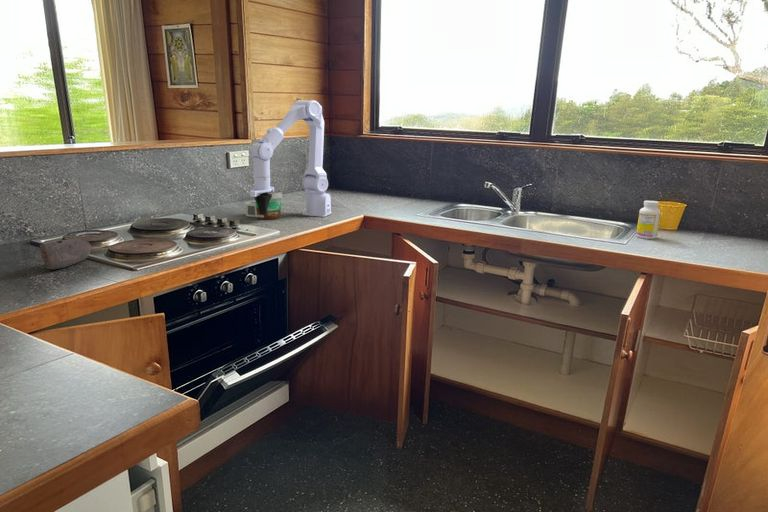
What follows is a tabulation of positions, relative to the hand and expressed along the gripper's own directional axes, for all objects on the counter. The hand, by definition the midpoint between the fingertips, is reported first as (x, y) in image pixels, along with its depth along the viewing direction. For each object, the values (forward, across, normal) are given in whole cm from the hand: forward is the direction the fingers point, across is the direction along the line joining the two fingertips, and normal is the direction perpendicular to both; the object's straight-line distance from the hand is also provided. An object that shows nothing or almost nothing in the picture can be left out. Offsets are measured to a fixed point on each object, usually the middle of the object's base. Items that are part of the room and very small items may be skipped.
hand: (263, 213), depth 193 cm
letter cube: (+3, -10, -9) cm, 14 cm away
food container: (+3, -7, 0) cm, 8 cm away
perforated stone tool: (+3, +68, -19) cm, 71 cm away
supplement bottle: (+3, -27, +135) cm, 138 cm away
